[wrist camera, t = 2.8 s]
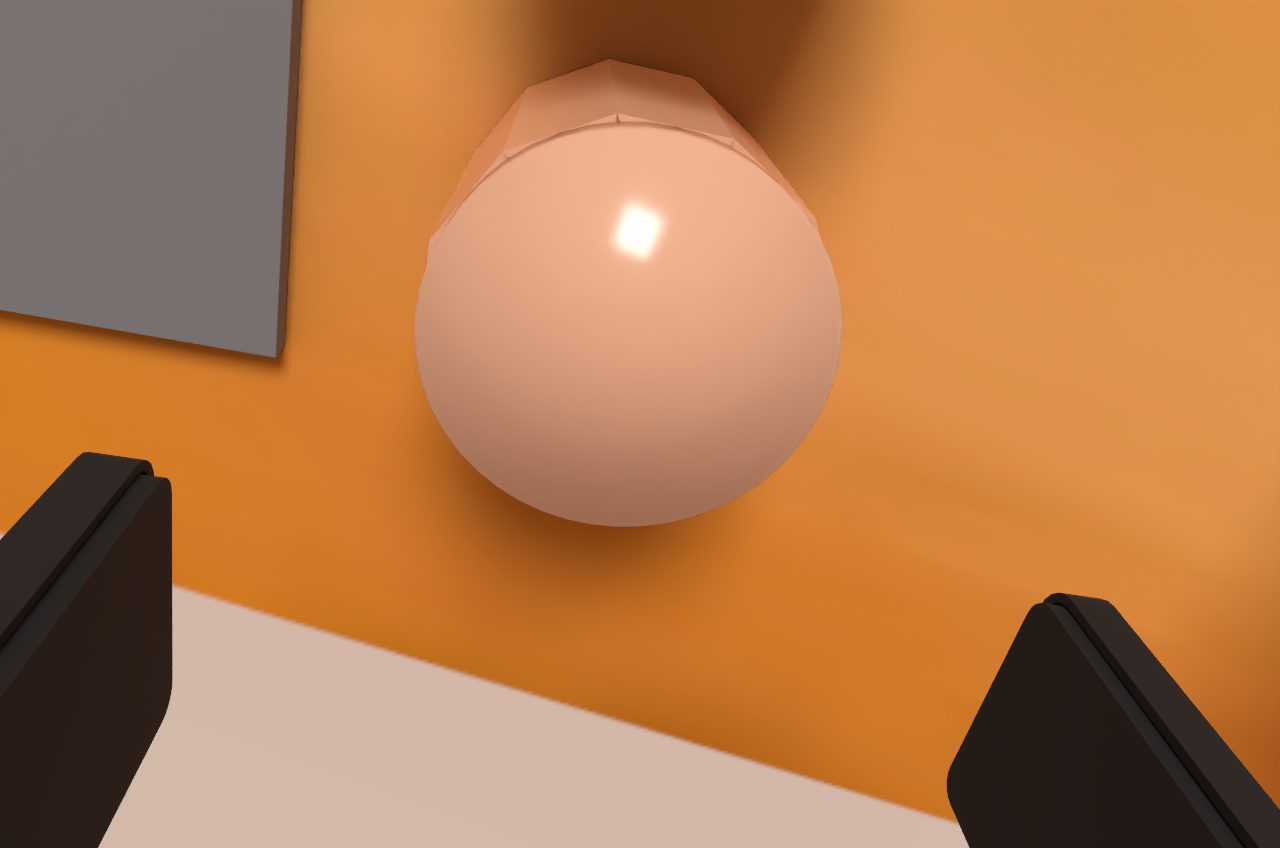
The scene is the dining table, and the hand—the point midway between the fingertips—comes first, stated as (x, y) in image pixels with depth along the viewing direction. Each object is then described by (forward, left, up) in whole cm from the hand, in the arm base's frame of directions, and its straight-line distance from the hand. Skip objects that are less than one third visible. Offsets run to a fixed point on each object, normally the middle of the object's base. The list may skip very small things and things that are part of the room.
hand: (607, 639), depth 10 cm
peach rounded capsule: (0, +1, -16) cm, 16 cm away
